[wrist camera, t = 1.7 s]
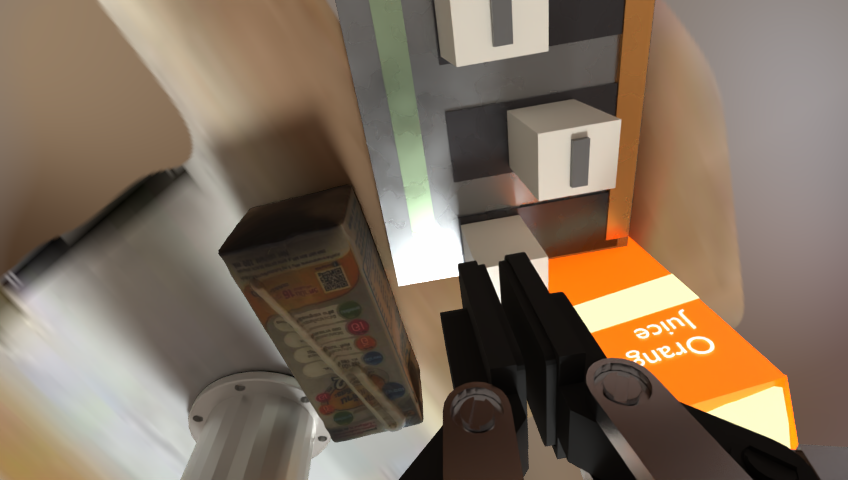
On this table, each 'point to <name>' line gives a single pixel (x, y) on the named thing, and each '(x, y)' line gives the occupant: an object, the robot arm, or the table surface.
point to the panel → (489, 126)
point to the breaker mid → (563, 148)
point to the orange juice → (674, 338)
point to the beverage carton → (329, 310)
